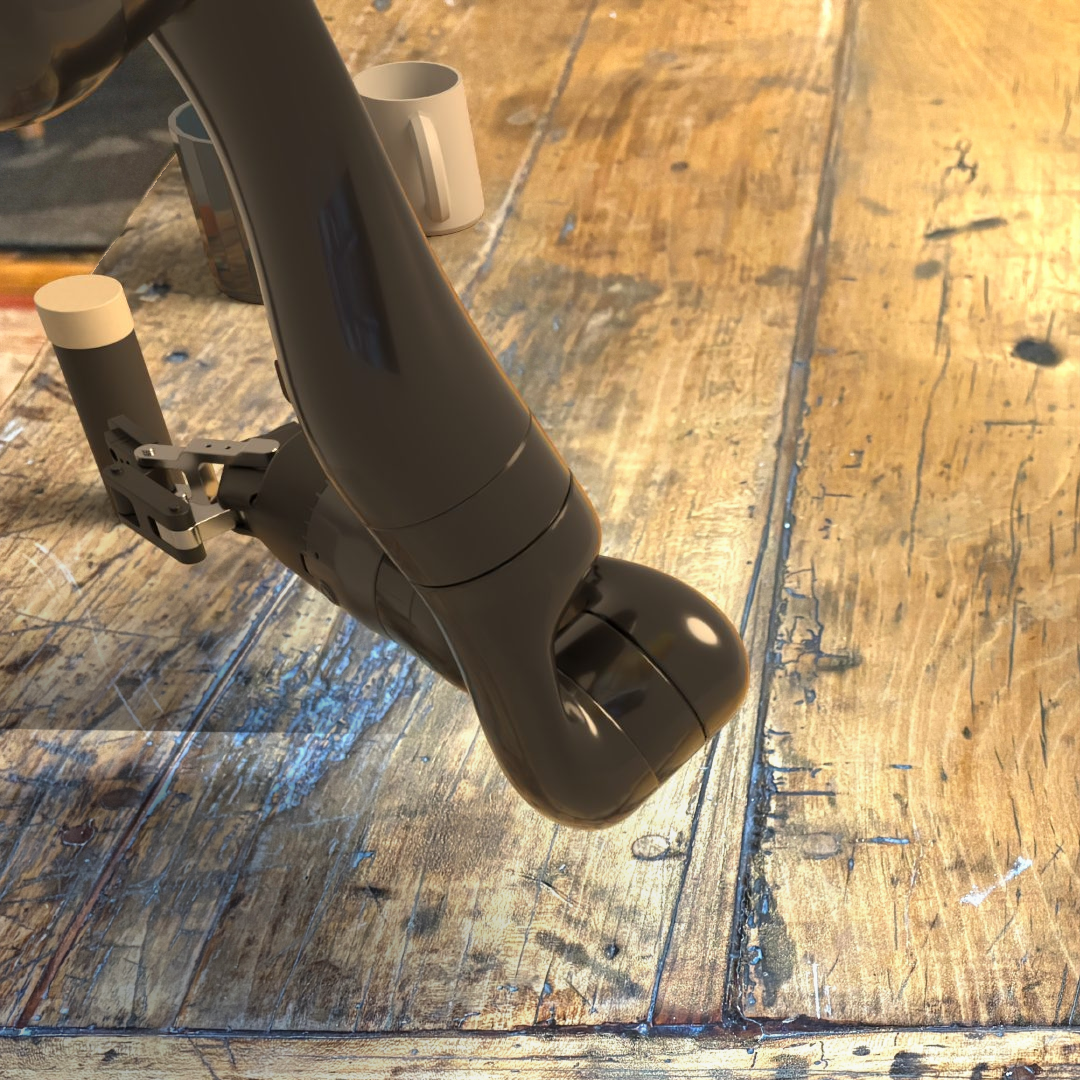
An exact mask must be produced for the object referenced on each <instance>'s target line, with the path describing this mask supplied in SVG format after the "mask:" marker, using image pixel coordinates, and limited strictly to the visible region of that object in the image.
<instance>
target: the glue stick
mask: <svg viewBox="0 0 1080 1080" xmlns="http://www.w3.org/2000/svg"><path fill="white" fill-rule="evenodd" d="M33 302H34V306H35V308H36V311H37V314H38V317H39V318H40V323H41V325H42V327H43V330H44V333H45V336H46V338H47V339H48V341H49V342H50V343H51V345H52V349H53V351H54V353H55V357H56V360H57V362H58V364H59V367H60V370H61V373H62V375H63V378H64V381H65V383H66V387H67V389H68V392H69V394H70V397H71V399H72V402H73V405H74V407H75V410H76V413H77V415H78V418H79V421H80V424H81V426H82V429H83V432H84V434H85V437H86V441H87V443H88V445H89V448H90V450H91V454H92V456H93V458H94V459H93V460H94V462H95V464H96V467H97V470H98V472H99V475H100V477H101V479H102V483H103V486H104V488H105V491H106V494H107V497H108V499H109V502H110V504H111V507H112V510H113V512H114V514H115V515H116V516H117V517H118V518H119V515H118V513H117V510H118V509H117V507H116V504H115V501H114V499H113V496H112V493H111V491H110V488H109V485H108V484H107V483H106V481H105V478H104V475H103V470H104V468H106V467H107V466H109V465H112V464H114V461H113V459H112V456H111V453H110V451H109V448H108V445H107V442H106V440H105V436H104V432H107V431H110V428H109V426H108V419H111V418H114V417H117V416H120V415H125V416H126V417H127V418H129V419H130V420H131V421H133V422H134V423H135V424H137V425H138V426H139V427H141V428H142V429H143V430H145V431H146V432H147V433H149V434H150V435H151V436H153V437H154V438H155V439H157V440H158V442H159V445H170V446H174V445H173V441H172V438H171V436H170V432H169V429H168V426H167V424H166V420H165V417H164V414H163V411H162V408H161V405H160V403H159V399H158V395H157V393H156V389H155V387H154V385H153V382H152V378H151V375H150V372H149V370H148V366H147V363H146V361H145V358H144V354H143V352H142V349H141V345H140V342H139V340H138V337H137V334H136V331H135V322H134V318H133V315H132V311H131V309H130V306H129V303H128V300H127V297H126V294H125V292H124V288H123V286H122V284H121V283H120V281H118V279H116V278H113V277H112V276H111V277H110V276H107V275H101V274H77V275H70V276H65V277H61V278H58V279H55V280H53V281H50V282H48V283H46V284H44V285H43V286H41V287H40V288H38V289H37V291H35V293H34V295H33ZM170 470H171V473H172V476H173V479H174V482H175V484H186V485H187V483H186V480H185V477H184V473H183V472H182V471H180V470H178V469H170Z"/></svg>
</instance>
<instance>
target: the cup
mask: <svg viewBox="0 0 1080 1080" xmlns="http://www.w3.org/2000/svg"><path fill="white" fill-rule="evenodd" d="M352 80H353V82H354V84H355V86H356V89H357V91H358V93H359V95H360V97H361V99H362V101H363V103H364V105H365V107H366V110H367V112H368V114H369V116H370V118H371V121H372V123H373V125H374V127H375V130H376V132H377V134H378V136H379V138H380V141H381V143H382V145H383V147H384V149H385V152H386V154H387V156H388V158H389V160H390V163H391V165H392V167H393V169H394V171H395V173H396V175H397V177H398V179H399V181H400V183H401V186H402V188H403V190H404V192H405V194H406V196H407V198H408V200H409V202H410V204H411V206H412V209H413V211H414V213H415V215H416V217H417V219H418V221H419V223H420V225H421V227H422V229H423V232H424V234H425V236H426V237H431V236H433V237H434V236H443V235H449V234H454V233H457V232H460V231H463V230H466V229H468V228H470V227H472V226H474V225H476V223H477V222H479V221H480V220H481V218H482V215H483V213H484V211H485V208H486V207H485V200H484V199H485V198H484V192H483V187H482V181H481V175H480V169H479V163H478V157H477V153H476V147H475V142H474V141H475V140H474V135H473V130H472V125H471V119H470V113H469V108H468V102H467V97H466V91H465V86H464V80H463V74H462V73H461V72H460V71H459V70H458V69H456V68H454V67H452V66H450V65H447V64H444V63H440V62H434V61H427V60H424V61H423V60H405V61H404V60H403V61H394V62H388V63H382V64H379V65H375V66H371V67H369V68H367V69H364V70H362V71H360V72H359V73H357V74H355V75H354V76H353V78H352Z"/></svg>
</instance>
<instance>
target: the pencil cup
mask: <svg viewBox="0 0 1080 1080" xmlns="http://www.w3.org/2000/svg"><path fill="white" fill-rule="evenodd" d="M167 122H168V123H167V125H168V130H169V133H170V137H171V140H172V144H173V147H174V150H175V154H176V158H177V161H178V164H179V167H180V168H179V169H180V171H181V175H182V178H183V181H184V184H185V187H186V191H187V194H188V198H189V201H190V205H191V208H192V212H193V214H194V218H195V221H196V225H197V228H198V231H199V235H200V238H201V242H202V246H203V249H204V252H205V255H206V259H207V262H208V266H209V269H210V272H211V276H212V277H213V280H214V283H215V285H216V287H217V288H218V290H220V292H222V293H223V294H224V295H226V296H228V297H230V298H233V299H234V300H238V301H242V302H245V303H251V304H258V305H264V302H263V298H262V293H261V289H260V285H259V280H258V276H257V272H256V268H255V265H254V262H253V258H252V255H251V251H250V248H249V244H248V241H247V237H246V234H245V230H244V227H243V223H242V220H241V217H240V214H239V211H238V208H237V206H236V203H235V200H234V197H233V194H232V192H231V189H230V186H229V183H228V180H227V178H226V175H225V172H224V169H223V166H222V164H221V162H220V160H219V157H218V155H217V153H216V150H215V148H214V146H213V144H212V141H211V139H210V137H209V135H208V133H207V131H206V129H205V127H204V125H203V124H202V122H201V120H200V118H199V116H198V114H197V112H196V110H195V108H194V107H193V105H192V103H191V102H190V100H189V99H188V101H186V102H184V103H182V104H181V105H179V106H177V107H175V108H174V110H173V111H172V112H171V113H170V115H169V116H168V118H167Z"/></svg>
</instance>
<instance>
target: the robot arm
mask: <svg viewBox="0 0 1080 1080" xmlns="http://www.w3.org/2000/svg"><path fill="white" fill-rule="evenodd" d="M146 40H148V41H149V43H150V44H151V46H152V47H153V48H154V50H155V51H156V52H157V53H158V54H159V57H161V59H162V60H163V61H164V63H165V64H166V66H167V67H168V69H169V70H170V71H171V73H172V74H173V76H174V77H175V79H176V81H177V82H178V83H179V85H180V87H181V88H182V91H183V92H184V93H185V95H186V97H187V98H188V101H189V100H190V102H191V103H192V105H193V107H194V108H195V110H196V112H197V114H198V116H199V118H200V120H201V122H202V124H203V125H204V127H205V129H206V131H207V133H208V135H209V137H210V139H211V141H212V144H213V146H214V148H215V150H216V153H217V155H218V157H219V160H220V162H221V164H222V166H223V169H224V172H225V175H226V178H227V180H228V183H229V186H230V189H231V192H232V194H233V197H234V200H235V203H236V206H237V208H238V211H239V214H240V217H241V220H242V223H243V227H244V230H245V234H246V237H247V241H248V244H249V248H250V251H251V255H252V258H253V262H254V265H255V268H256V272H257V276H258V280H259V285H260V289H261V293H262V298H263V302H264V304H263V306H264V311H265V315H266V319H267V323H268V328H269V331H270V335H271V339H272V343H273V346H274V347H273V348H274V350H275V356H276V358H277V359H274V362H273V364H274V369H275V372H276V376H277V378H278V379H277V380H278V382H279V386H280V390H281V392H282V394H283V397H284V399H285V400H286V402H288V403H289V404H290V405H291V407H292V410H293V412H294V414H295V417H296V420H297V421H295V420H293V421H289V422H287V423H284V424H283V425H280V426H278V427H276V428H274V429H272V430H271V431H269V432H267V433H265V434H261V435H257V436H251V437H248V438H246V439H242V440H240V441H237V440H224V439H215V438H203V437H202V438H201V437H194V438H192V439H191V440H190V442H189V443H188V444H187V445H186V446H183V445H182V446H180V445H173V446H170V445H159V442H158V440H157V439H155V438H154V437H153V436H151V435H150V434H149V433H147V432H146V431H145V430H143V429H142V428H141V427H139V426H138V425H137V424H135V423H134V422H133V421H131V420H130V419H129V418H127V417H126V416H125V415H120V416H117V417H114V418H111V419H108V426H109V428H110V431H107V432H104V436H105V440H106V442H107V445H108V448H109V451H110V453H111V456H112V459H113V461H114V464H112V465H109V466H107V467H106V468H104V470H103V475H104V478H105V481H106V483H107V484H108V485H109V488H110V491H111V493H112V496H113V499H114V501H115V504H116V507H117V509H118V510H117V513H118V515H119V517H118V518H119V520H120V523H122V525H125V526H126V527H127V528H129V530H131V531H133V532H135V533H136V534H137V535H139V536H140V537H142V538H143V539H145V540H147V541H148V542H149V543H151V544H152V545H154V546H155V547H156V548H158V549H160V550H161V551H162V552H164V553H165V554H167V555H168V556H170V557H171V558H173V559H174V560H176V561H177V562H179V563H180V564H182V565H187V566H190V565H191V566H192V565H196V564H199V563H201V562H203V561H204V560H206V559H207V557H208V554H207V551H206V549H205V545H204V542H206V541H209V540H211V539H213V538H215V537H217V536H219V535H221V534H225V533H226V532H229V531H232V532H234V534H237V535H242V536H247V537H252V538H256V539H258V540H260V542H261V543H262V544H263V545H264V547H266V548H267V549H268V550H269V552H270V553H271V554H272V555H273V556H274V557H276V559H277V560H278V561H279V562H280V563H281V564H283V565H284V567H286V568H287V569H288V570H290V571H291V572H293V573H294V574H295V575H297V576H298V577H299V578H301V579H302V581H304V582H306V583H307V584H308V585H310V586H311V587H312V588H314V589H315V590H316V591H318V592H319V593H320V594H322V596H324V597H326V599H327V600H328V601H329V602H331V603H332V604H333V605H335V606H337V607H339V608H340V609H341V610H343V611H344V612H345V613H347V614H348V615H349V616H350V617H352V618H353V619H354V620H356V621H357V622H358V623H359V624H361V625H362V626H364V627H366V628H367V629H369V630H370V631H372V632H374V633H376V634H377V635H379V636H381V637H383V638H385V639H387V640H389V641H391V642H394V643H395V644H397V646H399V647H400V648H401V649H403V650H404V651H406V652H407V653H408V654H409V655H411V656H412V657H414V658H415V659H416V660H417V661H419V662H420V663H422V664H423V665H424V666H425V667H427V668H428V669H430V670H431V671H433V672H434V673H435V674H436V675H437V676H439V677H440V678H441V679H443V680H445V681H446V682H447V683H448V684H449V685H451V686H453V687H454V688H455V689H457V690H460V691H461V692H463V693H465V694H466V695H469V697H470V700H471V703H472V706H473V709H474V711H475V714H476V716H477V719H478V722H479V725H480V727H481V729H482V733H483V735H484V737H485V739H486V742H487V744H488V747H489V748H490V750H491V752H492V754H493V757H494V759H495V760H496V763H497V764H498V766H499V769H501V771H502V773H503V774H504V776H505V778H506V779H507V781H508V782H509V784H510V785H511V787H512V788H513V789H514V790H515V791H516V793H517V794H518V795H519V796H520V797H521V798H522V800H524V802H526V804H528V806H530V807H531V808H532V809H533V810H535V811H536V812H537V813H539V814H540V815H541V816H542V817H544V818H546V819H547V820H549V821H551V822H553V823H555V824H557V825H560V826H562V827H564V828H565V827H566V828H569V829H573V830H577V831H585V832H597V831H605V830H609V829H611V828H612V829H613V828H614V827H617V826H619V824H622V823H623V822H624V821H625V820H627V819H628V818H630V817H631V816H632V815H634V813H636V812H637V811H638V810H639V809H640V808H641V807H642V806H643V805H644V804H645V803H646V802H647V801H649V799H651V798H652V796H653V795H655V794H656V793H657V792H658V791H659V790H660V789H661V788H662V787H663V786H664V785H665V784H666V783H667V782H668V781H669V780H670V779H671V778H672V777H674V775H675V774H677V773H678V771H679V770H681V769H682V768H683V766H684V765H686V764H687V763H688V762H689V761H690V760H691V759H692V758H693V757H694V756H695V755H696V754H697V753H698V752H699V751H700V750H701V749H703V747H704V746H705V745H706V744H708V743H709V742H710V741H711V740H712V739H713V738H715V736H716V735H718V734H719V733H720V731H722V729H723V728H725V727H726V726H727V725H728V723H730V721H731V720H733V719H734V717H735V716H736V715H737V713H738V712H739V710H740V709H741V708H742V706H743V705H744V702H745V700H746V698H747V696H748V693H749V689H750V683H751V671H750V661H749V657H748V654H747V649H746V647H745V644H744V641H743V640H742V637H741V636H740V633H739V632H738V630H737V629H736V627H735V625H734V624H733V622H732V621H731V620H730V619H729V618H728V617H729V616H727V615H726V614H725V612H724V611H722V609H720V607H719V606H718V605H716V604H715V602H713V601H712V600H711V599H710V598H708V597H707V596H706V595H704V594H703V593H701V591H699V590H697V589H696V588H695V587H693V586H692V585H691V584H688V583H686V582H684V581H683V580H681V579H679V578H677V577H675V576H674V575H672V574H669V573H668V572H667V573H666V572H665V571H662V570H660V569H657V568H655V567H652V566H648V565H645V564H642V563H638V562H635V561H630V560H626V559H622V558H618V557H612V556H608V555H603V554H600V553H601V549H602V543H603V529H602V525H601V520H600V517H599V515H598V512H597V510H596V508H595V507H594V504H593V502H592V501H591V498H590V497H589V495H588V494H587V492H586V491H585V489H584V487H583V486H582V484H581V483H580V482H579V481H578V479H577V477H576V475H575V474H574V473H573V471H572V470H571V468H570V467H569V466H568V464H567V462H566V461H565V459H564V458H563V456H562V454H561V453H560V452H559V450H558V449H557V448H556V446H555V444H554V443H553V441H552V439H551V438H550V437H549V436H548V434H547V432H546V431H545V429H544V427H542V425H541V424H540V422H539V421H538V419H537V417H536V416H535V415H534V413H533V411H532V410H531V409H530V407H529V406H528V405H527V404H528V403H526V401H525V400H524V398H523V397H522V395H521V394H520V392H519V391H518V389H517V388H516V387H515V385H514V383H512V381H511V379H510V378H509V377H508V375H507V374H506V372H505V371H504V369H503V368H502V366H501V365H500V363H499V361H498V360H497V358H496V357H495V355H494V353H493V352H492V350H491V349H490V347H489V346H488V343H486V341H485V338H483V336H482V334H481V333H480V331H479V329H478V328H477V326H476V325H475V323H474V321H473V320H472V318H471V316H470V315H469V313H468V311H467V309H466V307H465V305H464V304H463V302H462V300H461V299H460V297H459V295H458V293H457V292H456V290H455V288H454V287H453V285H452V283H451V281H450V279H449V277H448V275H447V274H446V272H445V270H444V268H443V267H442V264H441V263H440V261H439V259H438V257H437V256H436V253H435V252H434V249H433V247H432V246H431V244H430V242H429V240H428V238H427V236H425V234H424V232H423V229H422V227H421V225H420V223H419V221H418V219H417V217H416V215H415V213H414V211H413V209H412V206H411V204H410V202H409V200H408V198H407V196H406V194H405V192H404V190H403V188H402V186H401V183H400V181H399V179H398V177H397V175H396V173H395V171H394V169H393V167H392V165H391V163H390V160H389V158H388V156H387V154H386V152H385V149H384V147H383V145H382V143H381V141H380V138H379V136H378V134H377V132H376V130H375V127H374V125H373V123H372V121H371V118H370V116H369V114H368V112H367V110H366V107H365V105H364V103H363V101H362V99H361V97H360V95H359V93H358V91H357V89H356V86H355V84H354V82H353V80H352V79H353V78H352V76H351V74H350V72H349V70H348V67H347V66H346V63H345V61H344V59H343V56H342V55H341V53H340V51H339V48H338V46H337V44H336V43H335V40H334V39H333V36H332V34H331V32H330V30H329V28H328V25H327V24H326V22H325V20H324V17H323V16H322V13H321V12H320V10H319V8H318V6H317V3H316V2H315V0H0V132H5V131H12V130H17V129H23V128H25V127H30V126H34V125H37V124H39V123H42V122H44V121H47V120H49V119H52V118H54V117H56V116H58V115H60V114H62V113H64V112H65V111H67V110H69V109H71V108H72V107H74V106H76V105H78V104H79V103H81V102H82V101H84V100H85V99H86V98H88V97H89V96H90V95H92V94H93V93H94V92H95V91H96V90H97V89H98V88H100V87H101V86H102V85H103V84H104V83H105V82H106V81H107V80H108V79H110V77H111V76H112V75H113V73H114V71H115V70H117V69H118V68H119V67H120V65H122V63H124V62H125V61H126V60H127V59H128V58H129V57H130V56H131V55H132V54H133V53H134V52H135V51H136V50H137V49H139V47H140V46H141V45H142V44H144V43H145V41H146ZM213 465H222V466H223V467H222V471H221V475H220V479H219V480H218V478H217V474H216V471H215V468H214V466H213ZM170 469H178V470H180V471H182V474H183V475H184V476H185V478H186V482H187V483H186V484H175V482H174V479H173V476H172V473H171V470H170Z"/></svg>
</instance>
